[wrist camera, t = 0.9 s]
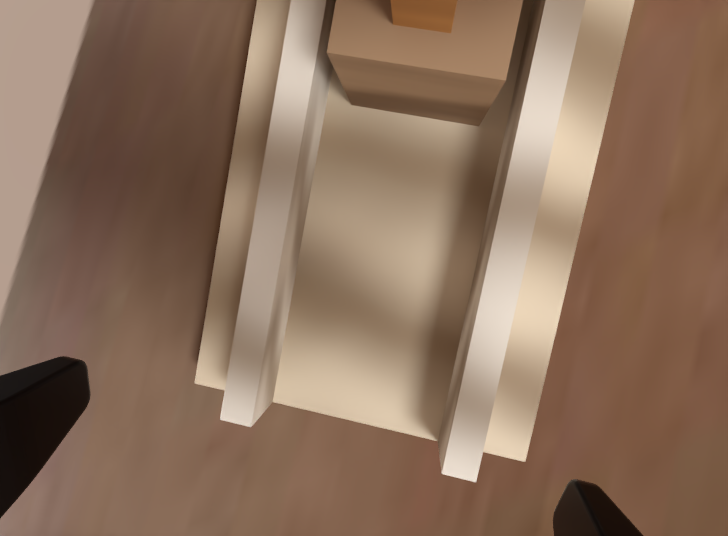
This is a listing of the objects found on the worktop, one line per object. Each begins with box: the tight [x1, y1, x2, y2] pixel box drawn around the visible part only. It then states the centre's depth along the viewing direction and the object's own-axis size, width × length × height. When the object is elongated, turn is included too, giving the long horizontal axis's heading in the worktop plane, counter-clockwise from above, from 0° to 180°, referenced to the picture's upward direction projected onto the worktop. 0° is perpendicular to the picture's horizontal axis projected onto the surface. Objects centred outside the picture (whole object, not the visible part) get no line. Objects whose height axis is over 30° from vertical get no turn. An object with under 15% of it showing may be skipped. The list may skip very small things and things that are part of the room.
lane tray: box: [195, 0, 635, 482], centre depth 17 cm, size 20×14×4 cm
